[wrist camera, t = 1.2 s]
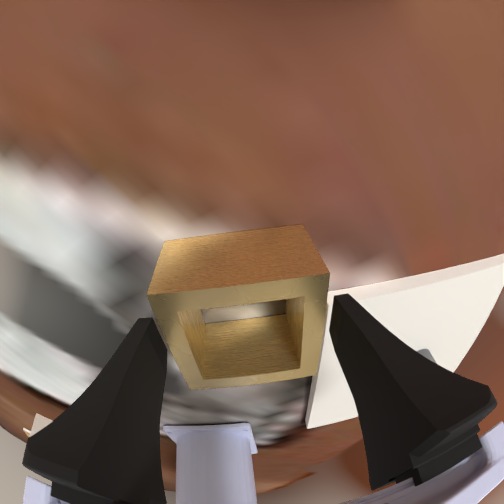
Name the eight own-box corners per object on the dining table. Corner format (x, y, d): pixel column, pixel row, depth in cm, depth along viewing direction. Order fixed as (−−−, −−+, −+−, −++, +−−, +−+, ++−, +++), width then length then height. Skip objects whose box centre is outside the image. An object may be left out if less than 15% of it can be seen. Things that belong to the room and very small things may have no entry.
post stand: (441, 376, 22) (461, 414, 18) (305, 419, 22) (316, 470, 17) (506, 252, 14) (549, 295, 9) (322, 292, 14) (361, 383, 9)
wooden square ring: (300, 322, 14) (316, 374, 11) (193, 335, 14) (190, 389, 11) (302, 224, 11) (329, 273, 8) (164, 241, 11) (146, 295, 8)
